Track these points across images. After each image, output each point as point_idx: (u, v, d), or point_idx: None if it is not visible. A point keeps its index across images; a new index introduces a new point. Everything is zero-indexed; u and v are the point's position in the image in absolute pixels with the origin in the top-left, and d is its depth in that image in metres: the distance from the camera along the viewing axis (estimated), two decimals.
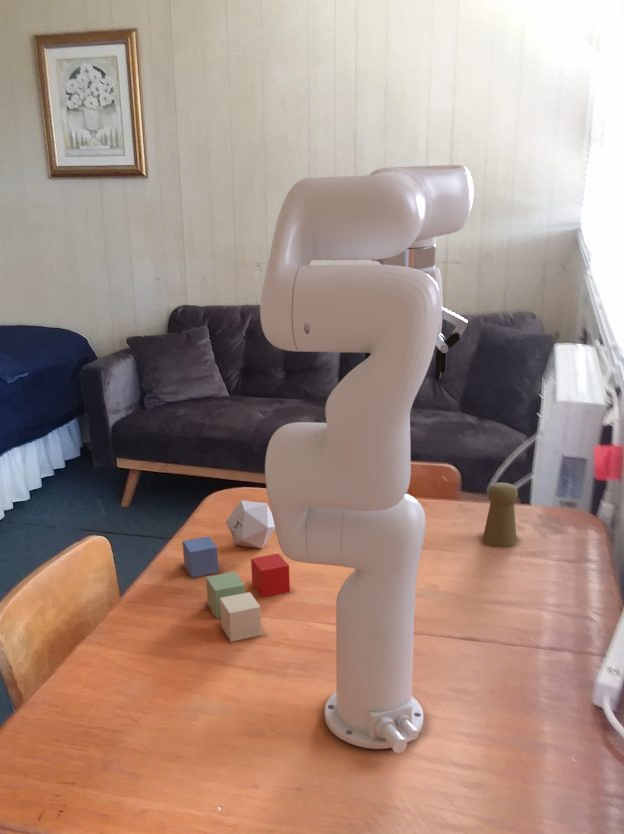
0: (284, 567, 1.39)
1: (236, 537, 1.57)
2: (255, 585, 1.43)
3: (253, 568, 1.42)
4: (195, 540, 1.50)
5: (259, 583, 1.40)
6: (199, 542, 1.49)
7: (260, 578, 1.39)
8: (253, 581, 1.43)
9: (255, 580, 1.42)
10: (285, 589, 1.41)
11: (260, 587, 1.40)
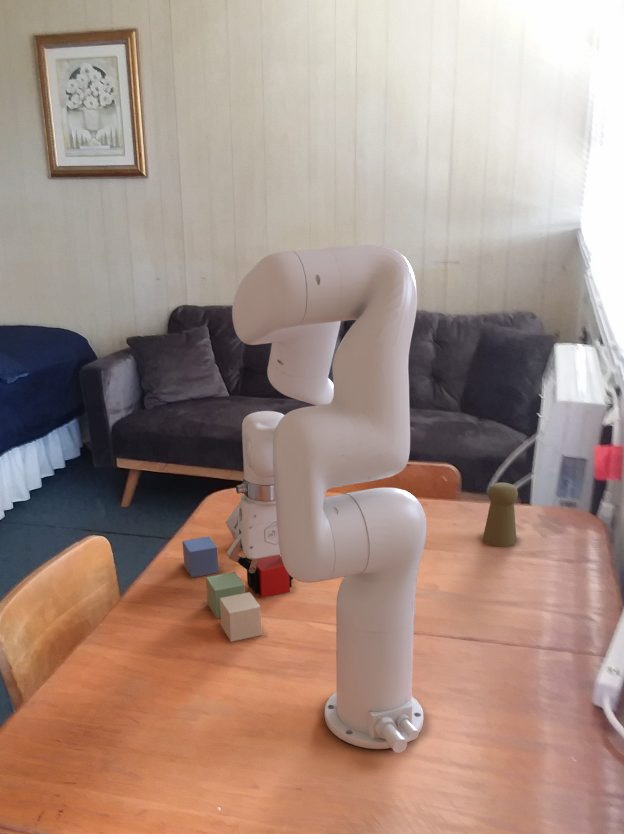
0: (284, 567, 1.39)
1: (236, 537, 1.57)
2: None
3: None
4: (195, 540, 1.50)
5: (259, 583, 1.40)
6: (199, 542, 1.49)
7: (260, 578, 1.39)
8: None
9: None
10: (285, 589, 1.41)
11: (260, 587, 1.40)
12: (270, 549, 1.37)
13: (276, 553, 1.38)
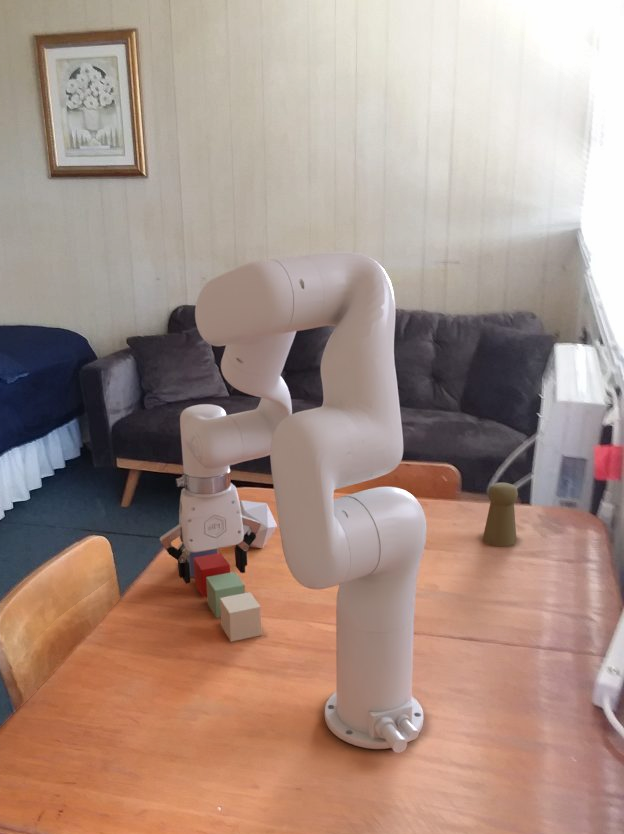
0: (225, 566, 1.40)
1: None
2: (197, 584, 1.44)
3: (195, 567, 1.43)
4: None
5: (200, 582, 1.41)
6: None
7: (201, 577, 1.40)
8: (195, 580, 1.44)
9: (197, 579, 1.43)
10: None
11: (201, 586, 1.41)
12: (211, 542, 1.37)
13: (217, 546, 1.38)
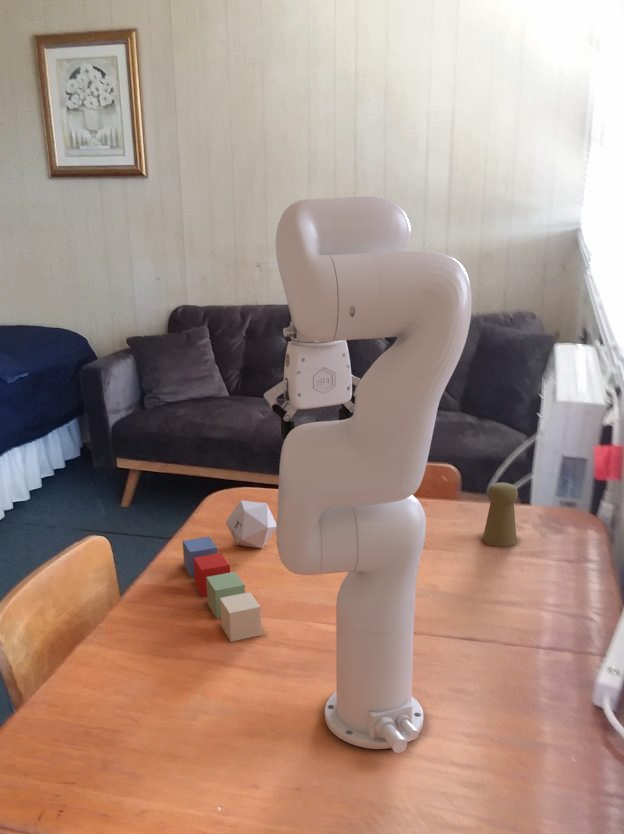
0: (225, 566, 1.40)
1: (236, 537, 1.57)
2: (197, 584, 1.44)
3: (195, 567, 1.43)
4: (195, 540, 1.50)
5: (200, 582, 1.41)
6: (199, 542, 1.49)
7: (201, 577, 1.40)
8: (195, 580, 1.44)
9: (197, 579, 1.43)
10: None
11: (201, 586, 1.41)
12: (319, 398, 1.29)
13: (325, 403, 1.29)
